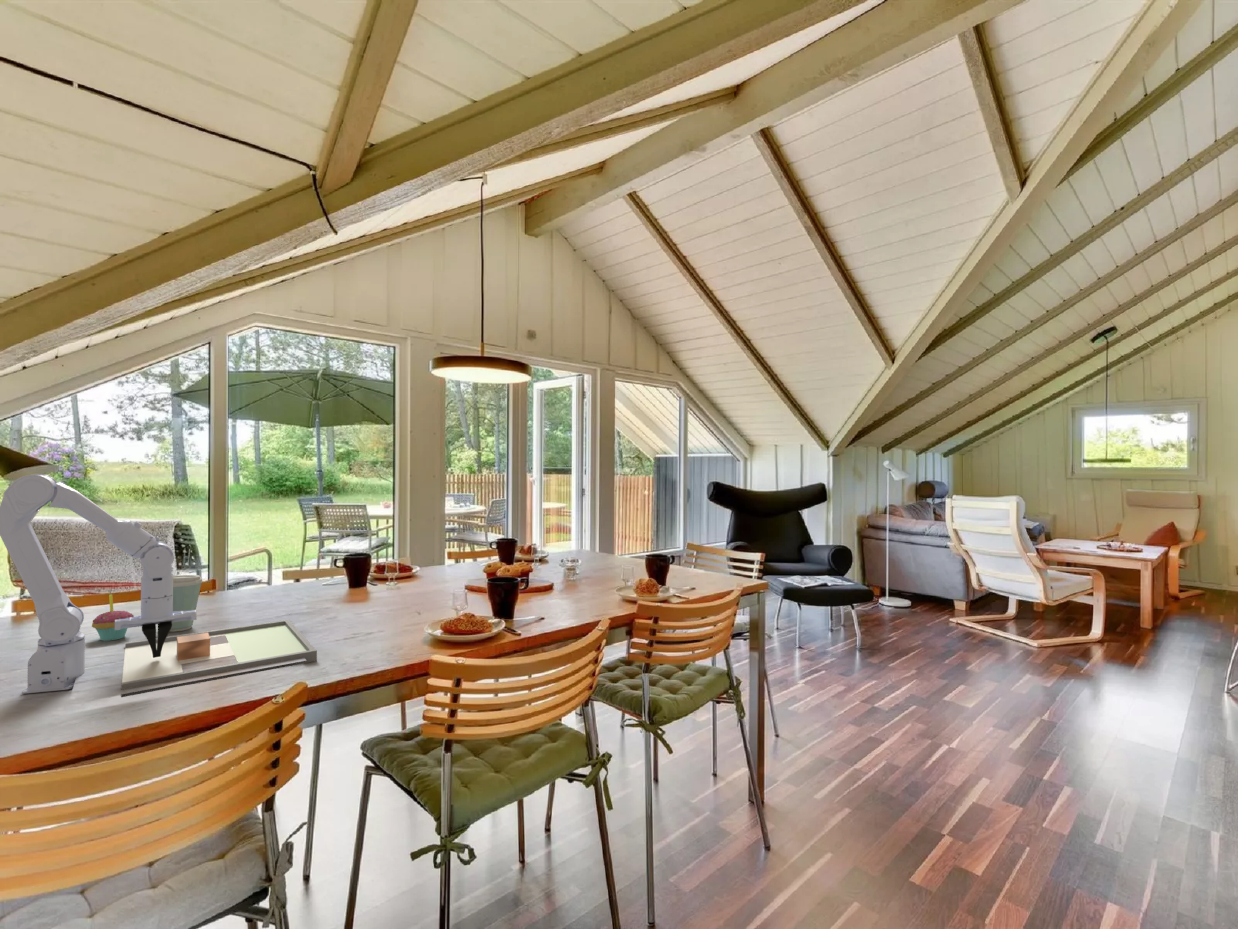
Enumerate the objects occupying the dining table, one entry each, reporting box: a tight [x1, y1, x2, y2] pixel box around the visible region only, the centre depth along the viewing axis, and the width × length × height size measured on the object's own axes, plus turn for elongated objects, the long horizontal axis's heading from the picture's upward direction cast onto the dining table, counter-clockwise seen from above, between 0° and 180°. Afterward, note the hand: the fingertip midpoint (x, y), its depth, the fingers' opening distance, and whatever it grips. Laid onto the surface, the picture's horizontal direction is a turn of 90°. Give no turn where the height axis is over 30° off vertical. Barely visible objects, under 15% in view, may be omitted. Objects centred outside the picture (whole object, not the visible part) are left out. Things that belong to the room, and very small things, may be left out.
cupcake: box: [91, 591, 135, 642], centre depth 155 cm, size 9×8×12 cm
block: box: [177, 633, 211, 661], centre depth 138 cm, size 6×6×4 cm
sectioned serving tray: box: [120, 619, 318, 698], centre depth 141 cm, size 35×34×2 cm
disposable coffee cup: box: [169, 574, 204, 633], centre depth 164 cm, size 11×11×15 cm
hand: (156, 656), depth 134 cm, fingers closed
